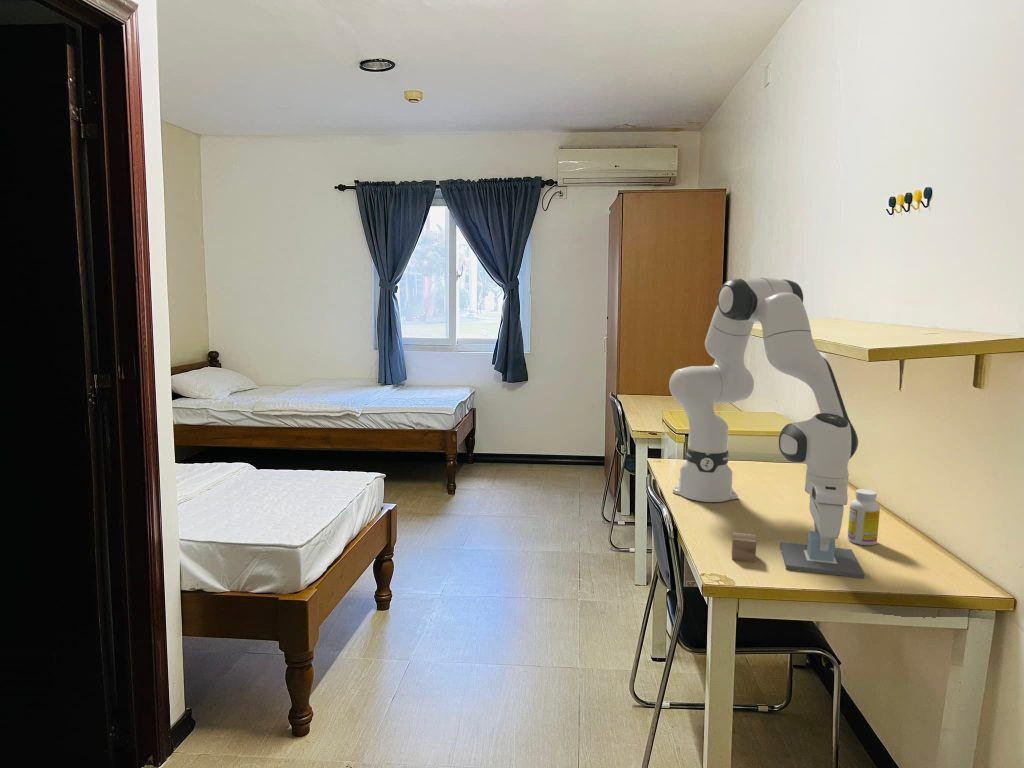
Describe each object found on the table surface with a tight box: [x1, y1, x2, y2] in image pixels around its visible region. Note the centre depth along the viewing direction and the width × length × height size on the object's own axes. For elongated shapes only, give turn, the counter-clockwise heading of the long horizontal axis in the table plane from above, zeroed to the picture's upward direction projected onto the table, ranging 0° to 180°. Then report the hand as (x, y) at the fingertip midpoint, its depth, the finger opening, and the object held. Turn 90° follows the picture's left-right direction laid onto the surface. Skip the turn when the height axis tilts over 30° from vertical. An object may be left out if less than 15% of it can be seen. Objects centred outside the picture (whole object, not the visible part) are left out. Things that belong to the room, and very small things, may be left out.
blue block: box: [806, 530, 836, 562], centre depth 165 cm, size 5×5×5 cm
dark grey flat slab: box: [779, 541, 865, 579], centre depth 165 cm, size 15×16×1 cm
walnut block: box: [731, 531, 757, 564], centre depth 166 cm, size 5×5×5 cm
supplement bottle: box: [847, 488, 881, 547], centre depth 177 cm, size 7×7×13 cm
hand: (821, 544), depth 165 cm, fingers open, 6 cm apart
